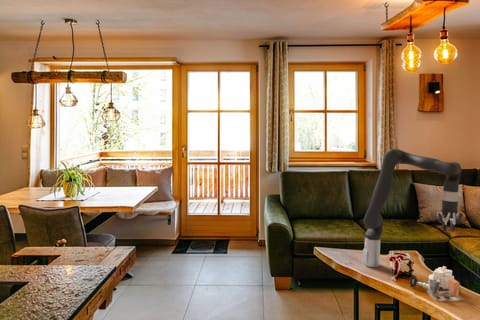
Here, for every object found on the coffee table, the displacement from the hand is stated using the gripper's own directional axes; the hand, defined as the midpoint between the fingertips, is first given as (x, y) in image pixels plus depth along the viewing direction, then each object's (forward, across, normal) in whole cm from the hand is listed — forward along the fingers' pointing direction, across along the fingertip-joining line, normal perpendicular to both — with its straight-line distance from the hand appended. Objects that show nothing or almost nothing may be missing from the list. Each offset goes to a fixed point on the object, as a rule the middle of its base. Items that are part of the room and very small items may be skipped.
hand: (448, 230), depth 197 cm
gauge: (+31, -7, -13) cm, 35 cm away
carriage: (+30, -3, -13) cm, 32 cm away
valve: (+32, -14, -4) cm, 35 cm away
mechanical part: (+31, -4, -2) cm, 32 cm away
